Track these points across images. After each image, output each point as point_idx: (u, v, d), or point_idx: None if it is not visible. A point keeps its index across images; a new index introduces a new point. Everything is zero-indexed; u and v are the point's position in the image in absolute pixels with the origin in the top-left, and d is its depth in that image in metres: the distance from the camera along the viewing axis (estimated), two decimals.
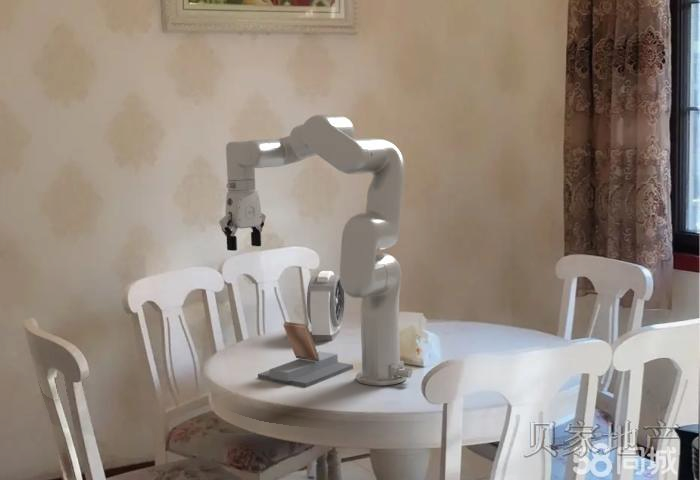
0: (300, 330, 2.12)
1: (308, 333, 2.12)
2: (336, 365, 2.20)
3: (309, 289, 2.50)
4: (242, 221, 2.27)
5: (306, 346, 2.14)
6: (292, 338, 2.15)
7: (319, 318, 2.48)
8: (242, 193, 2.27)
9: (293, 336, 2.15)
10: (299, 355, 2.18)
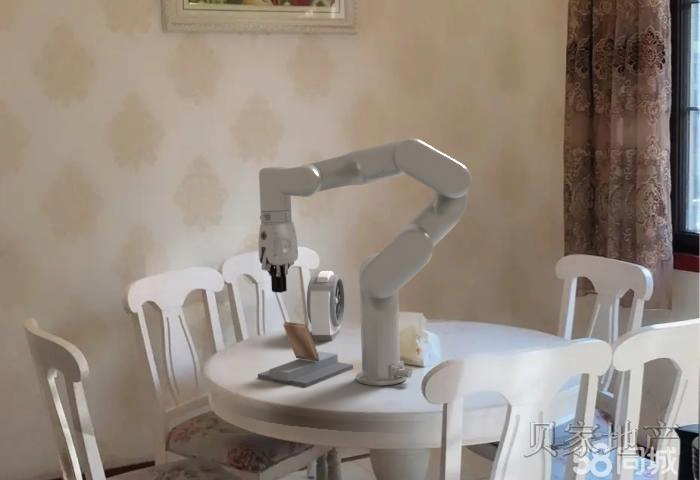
0: (300, 330, 2.12)
1: (308, 333, 2.12)
2: (336, 365, 2.20)
3: (309, 289, 2.50)
4: (277, 257, 2.02)
5: (306, 346, 2.14)
6: (292, 338, 2.15)
7: (319, 318, 2.48)
8: (277, 226, 2.02)
9: (293, 336, 2.15)
10: (299, 355, 2.18)
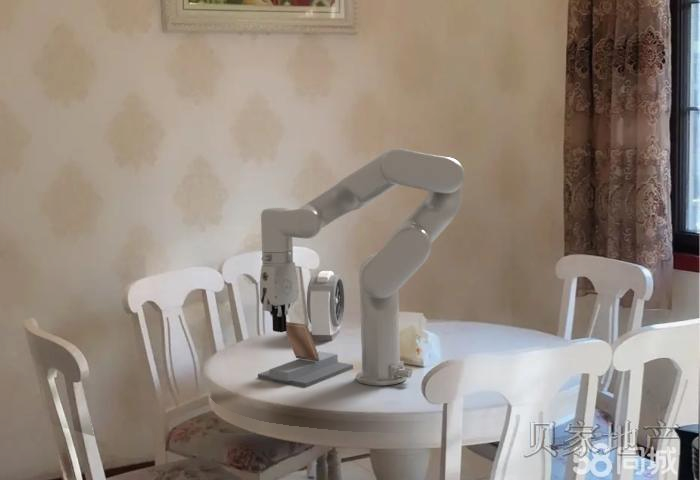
0: (300, 330, 2.12)
1: (308, 333, 2.12)
2: (336, 365, 2.20)
3: (309, 289, 2.50)
4: (278, 298, 2.03)
5: (306, 346, 2.14)
6: (292, 338, 2.15)
7: (319, 318, 2.48)
8: (279, 267, 2.03)
9: (293, 336, 2.15)
10: (299, 355, 2.18)
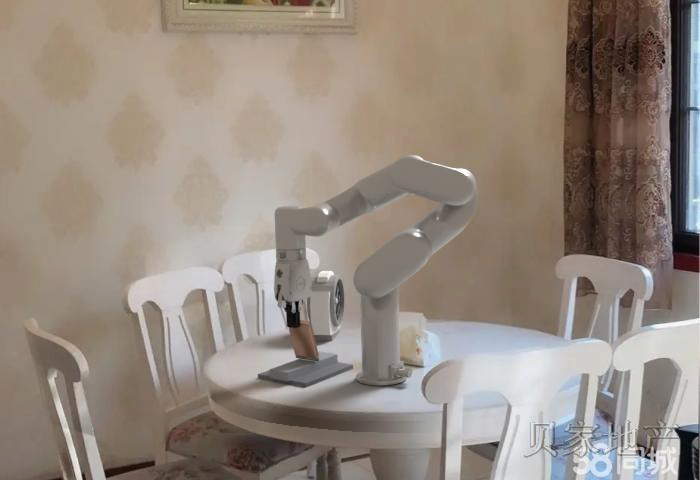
0: (303, 327, 2.13)
1: (311, 330, 2.13)
2: (336, 365, 2.20)
3: None
4: (293, 294, 2.07)
5: (307, 344, 2.14)
6: (294, 336, 2.16)
7: (319, 318, 2.48)
8: (293, 264, 2.07)
9: (295, 334, 2.16)
10: (299, 355, 2.18)
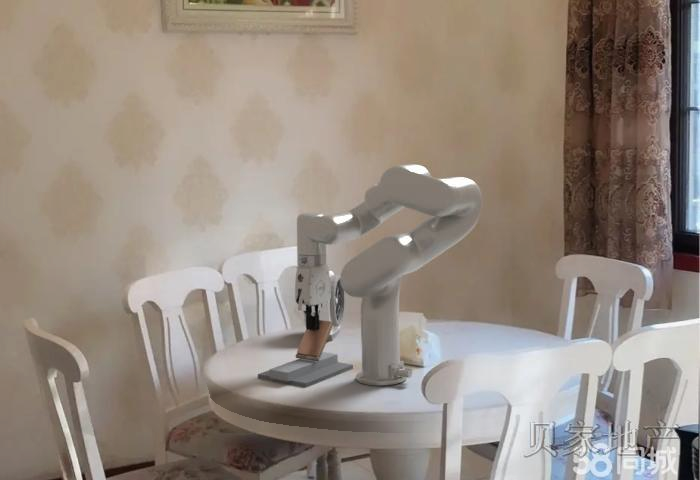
0: (324, 324, 2.20)
1: (329, 330, 2.19)
2: (336, 365, 2.20)
3: None
4: (313, 298, 2.15)
5: (317, 342, 2.18)
6: (308, 333, 2.21)
7: (319, 318, 2.48)
8: (313, 269, 2.14)
9: (311, 332, 2.21)
10: (301, 352, 2.18)
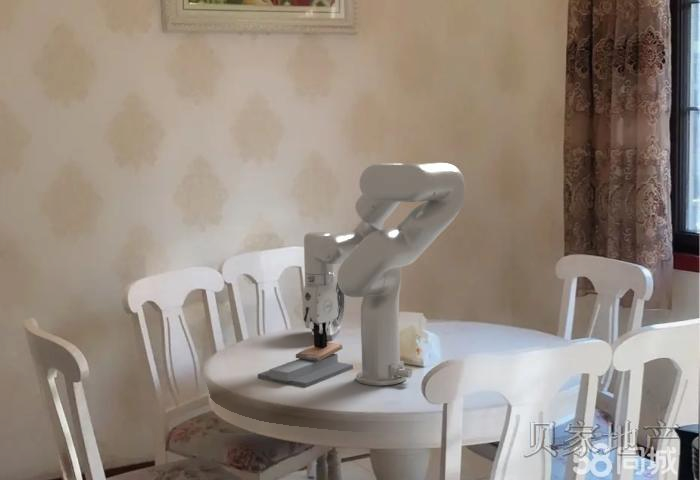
0: (334, 345, 2.24)
1: (337, 349, 2.22)
2: (336, 365, 2.20)
3: None
4: (320, 316, 2.18)
5: (322, 350, 2.20)
6: None
7: None
8: (321, 287, 2.17)
9: None
10: (302, 353, 2.19)
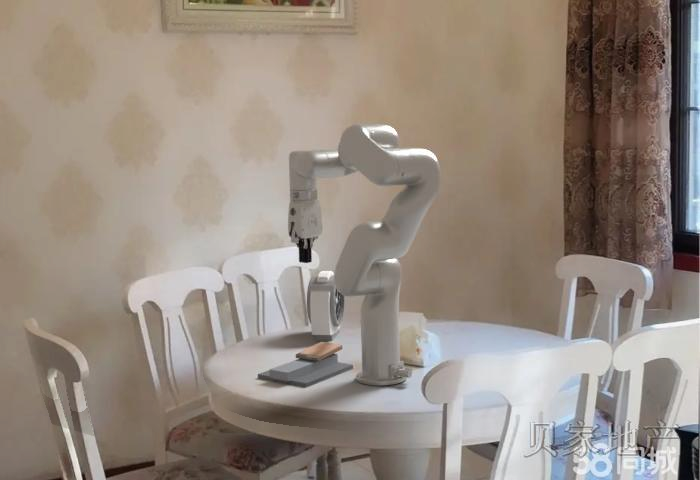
0: (334, 345, 2.24)
1: (337, 349, 2.22)
2: (336, 365, 2.20)
3: (309, 289, 2.50)
4: (305, 231, 2.26)
5: (322, 351, 2.20)
6: (315, 347, 2.23)
7: (319, 318, 2.48)
8: (305, 203, 2.26)
9: (318, 346, 2.24)
10: (302, 353, 2.19)
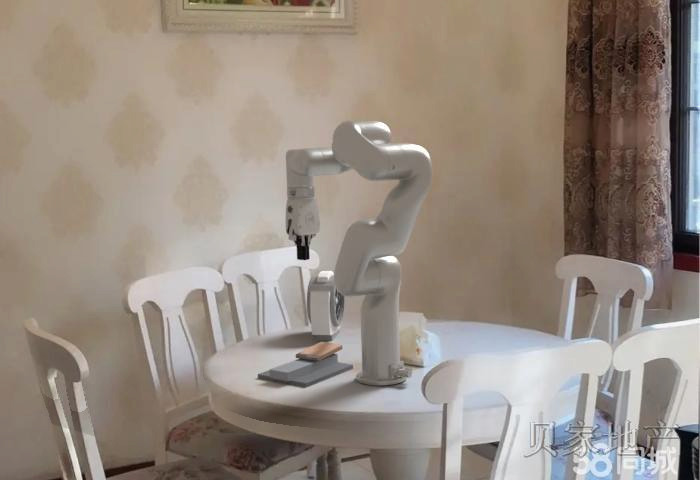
0: (334, 345, 2.24)
1: (337, 349, 2.22)
2: (336, 365, 2.20)
3: (309, 289, 2.50)
4: (302, 228, 2.28)
5: (322, 351, 2.20)
6: (315, 347, 2.23)
7: (319, 318, 2.48)
8: (302, 200, 2.28)
9: (318, 346, 2.24)
10: (302, 353, 2.19)
